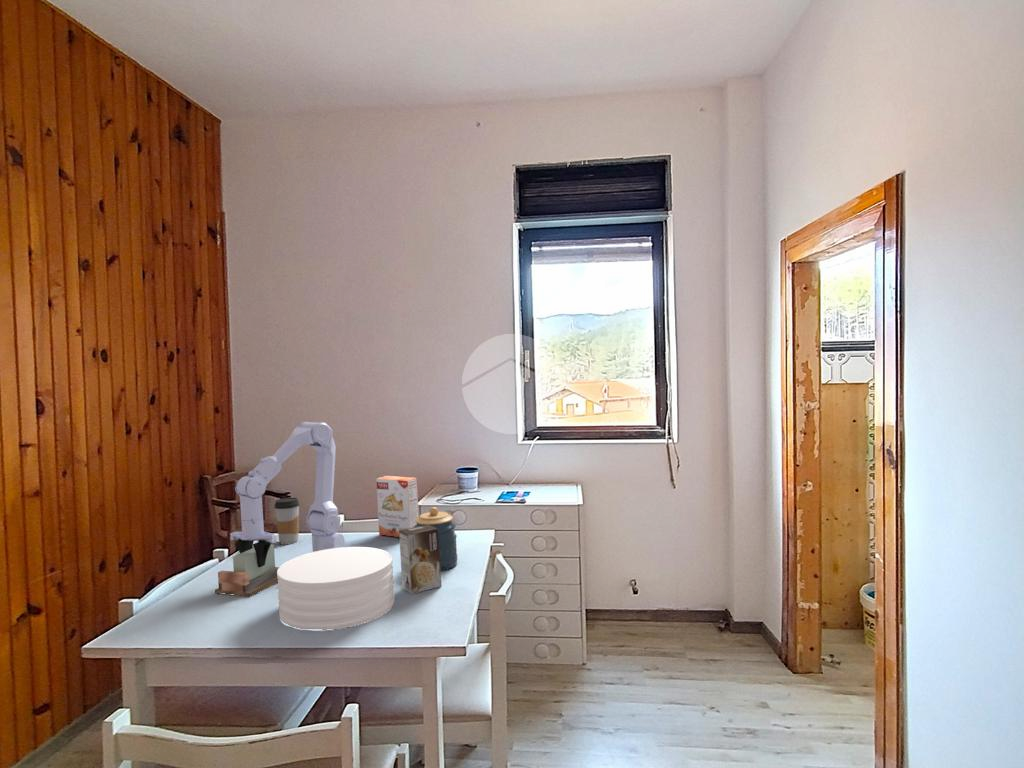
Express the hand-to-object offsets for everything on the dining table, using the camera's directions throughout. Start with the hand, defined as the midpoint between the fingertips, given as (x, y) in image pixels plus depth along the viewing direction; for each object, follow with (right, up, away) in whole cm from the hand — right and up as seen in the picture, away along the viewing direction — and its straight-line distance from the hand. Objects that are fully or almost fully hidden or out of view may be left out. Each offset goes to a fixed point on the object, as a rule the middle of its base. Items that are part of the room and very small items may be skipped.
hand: (254, 565), depth 178 cm
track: (0, -5, +1) cm, 5 cm away
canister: (+51, -3, +10) cm, 52 cm away
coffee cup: (-5, -4, +42) cm, 42 cm away
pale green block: (0, -3, 0) cm, 3 cm away
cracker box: (+33, -2, +44) cm, 55 cm away
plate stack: (+29, -5, -20) cm, 36 cm away
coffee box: (+49, -4, -8) cm, 50 cm away
